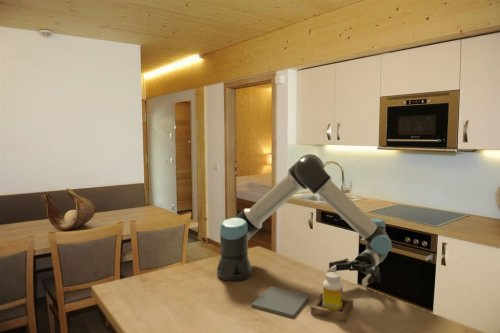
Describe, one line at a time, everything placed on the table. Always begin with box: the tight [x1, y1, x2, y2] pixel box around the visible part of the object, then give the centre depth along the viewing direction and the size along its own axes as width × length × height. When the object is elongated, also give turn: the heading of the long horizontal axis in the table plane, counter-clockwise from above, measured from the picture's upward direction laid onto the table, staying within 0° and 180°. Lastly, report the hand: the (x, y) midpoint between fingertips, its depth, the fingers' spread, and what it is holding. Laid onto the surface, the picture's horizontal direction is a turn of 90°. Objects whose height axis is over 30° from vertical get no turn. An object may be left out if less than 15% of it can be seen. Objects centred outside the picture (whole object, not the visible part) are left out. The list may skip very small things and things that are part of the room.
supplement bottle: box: [322, 272, 344, 312], centre depth 121 cm, size 7×7×13 cm
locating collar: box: [310, 292, 354, 324], centre depth 122 cm, size 12×12×2 cm
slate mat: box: [250, 285, 311, 319], centre depth 128 cm, size 16×16×1 cm
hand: (344, 278), depth 128 cm, fingers open, 13 cm apart
